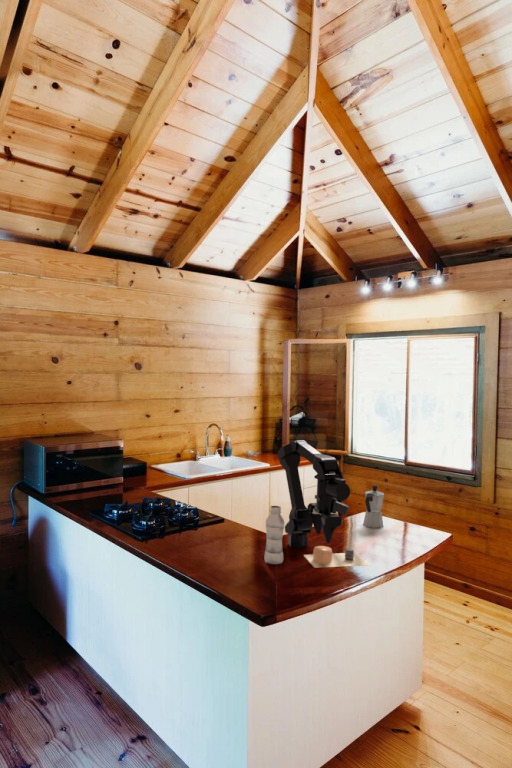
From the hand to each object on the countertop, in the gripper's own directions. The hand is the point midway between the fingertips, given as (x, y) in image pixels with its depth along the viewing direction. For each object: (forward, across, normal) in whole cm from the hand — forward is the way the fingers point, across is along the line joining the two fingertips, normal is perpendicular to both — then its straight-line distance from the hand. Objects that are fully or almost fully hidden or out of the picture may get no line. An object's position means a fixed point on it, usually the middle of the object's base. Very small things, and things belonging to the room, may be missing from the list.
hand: (323, 538), depth 174 cm
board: (+9, 0, -5) cm, 10 cm away
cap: (+8, 0, 0) cm, 8 cm away
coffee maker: (+10, +41, -39) cm, 57 cm away
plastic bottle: (+9, +2, +17) cm, 20 cm away
